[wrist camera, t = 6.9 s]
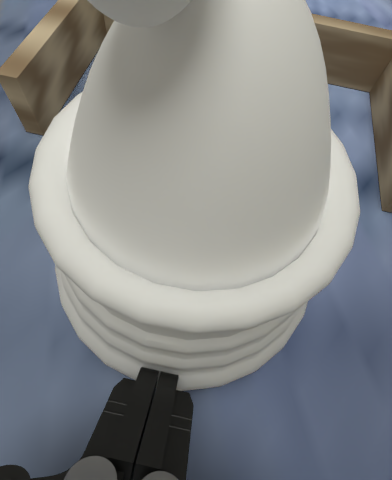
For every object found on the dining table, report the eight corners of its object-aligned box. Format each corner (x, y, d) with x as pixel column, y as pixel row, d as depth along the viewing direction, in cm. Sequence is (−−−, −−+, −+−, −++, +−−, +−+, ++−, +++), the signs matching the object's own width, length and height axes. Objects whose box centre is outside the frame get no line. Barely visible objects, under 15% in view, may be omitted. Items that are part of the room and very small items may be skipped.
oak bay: (400, 214, 24) (454, 173, 19) (26, 131, 24) (-5, 73, 20) (382, 86, 31) (417, 35, 27) (98, 25, 32) (87, -34, 28)
